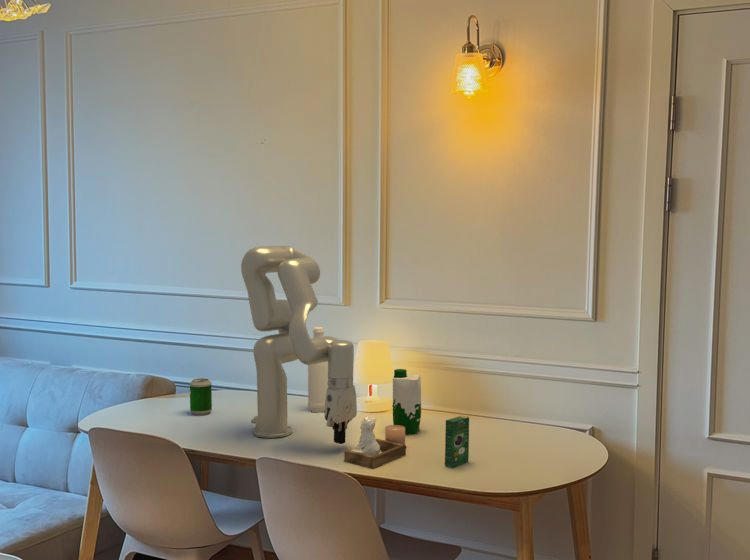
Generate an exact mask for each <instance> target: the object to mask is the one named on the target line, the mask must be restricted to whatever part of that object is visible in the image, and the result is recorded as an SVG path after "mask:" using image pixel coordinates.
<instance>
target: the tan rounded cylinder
mask: <svg viewBox="0 0 750 560" xmlns="http://www.w3.org/2000/svg"><path fill="white" fill-rule="evenodd" d="M384 440H386V441H390V442H395V443H399V444H404V445H406V434H405V427H404V426H401V425H393V424H389V425H386V426H385V427H384Z"/></svg>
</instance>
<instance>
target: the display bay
mask: <svg viewBox="0 0 750 560" xmlns="http://www.w3.org/2000/svg"><path fill="white" fill-rule="evenodd" d="M375 439H376V441H377V443H378V444H379V445H380V450H381V451H380V453H379V454H377V455H375V456H370V455H366V454H362V453H358V452H354V451H352V450H351V449H350V450H348V449H346V450H343V453H344V454H343V458H344V459H343V461H344V462H346V463H350V464H354V465H358V466H362V467H365V468H369V469H374V470H375V469H377V468H379V467H382V466H384V465H386V464H388V463H390V461H391V462H393V461H395V460H398V459H400V458H403V457H404V456H407V455H406V454H407V445H406V444H405V445H404V444H399V443H395V442H390V441H386V440H385V439H382V438H375ZM384 451H385V452H384ZM402 456H403V457H402ZM397 458H398V459H397ZM385 463H386V464H385ZM383 464H384V465H383Z"/></svg>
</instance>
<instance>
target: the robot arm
mask: <svg viewBox="0 0 750 560" xmlns="http://www.w3.org/2000/svg"><path fill="white" fill-rule="evenodd" d="M240 266H241V267H240V268H241V269H240V271H241V275H242V279H243V282H244V284H245V285H244V286H245V289H246V291H247V296H248V303H249V308H250V314H251V318H252V319H251V320H252V322H253V327H254V328H255V329H256V330H257V331H259V332H272V331H278V333H276V334H275V333H274V334H270V335H266V336H263V337H260V338H259V339H257V341H256V342H255V344H254V345H253V349H252V350H253V357H254V358H253V359H254V363H255V367H256V368H255V371H256V390H257V391H256V392H257V393H256V394H257V396H256V397H257V398H256V399H257V401H256V403H257V406H256V407H257V415H255V416H254V417H253V418H252V419H251V420H250V423H251V424H254V425H255V427H254V428H253V429H252V434H253V435H254V436H255V437H258V438H263V439H275V438H282V437H283V438H284V437H288V436H289V435H292V433H293V428H292V426H289V425H288V378H287V377H288V376H287V373H286V371H285V369H284V366H283V365H282V364H285V363H291V362H294V361H298V360H299V361H300V362H301V363H302V364H303V365H307V366H308V365H312V364H316V363H321V362H327V361H328V382H327V384H328V388H327V392H326V399H325V412H324V419H325V421H326V426H327V427H329V428H332V430H333V442H334V443H335V444H339V445H343V444H345V443H346V431H347V429H348V425H349V423H350V422H351V421H352V420H353V419H355V418H356V417H357V414H358V411H357V409H358V407H357V406H358V405H357V404H358V402H357V393H356V387H355V385H354V361H355V360H354V359H355V358H354V357H355V356H354V354H355V350H354V343H353V342H352V341H350V340H346V339H345V340H344V339H338V338H336V337H333V336H329V335H328V336H324V337H318V338H314V337H313V338H311V337H310V335H309V332H308V329H307V318H308V315H309V313H310V312H312V311H313V310H314V309H315V308H316V307H317V306H318V305H319V304H318V303H319V302H318V299H317V296H316V294H315V291H314V288H313V286H312V285H313V284H315V283H316V282H318V281H319V279H320V276H321V268H320V266H319V264H318V262H317V261H316V260H315V259H313V258H312V257H310V256H309V255H308V254H305V253H303V252H301V251H299V250H298V249H295V248H293V247H291V246H287V245H261V246H256V247H253V248H250V249H249V250H247V252H245V254H244V255H243V257H242V260H241V264H240ZM269 273H277V276H278V277H277V278H278V279H279V282H280V284H281V287H282V290H283V292H284V295H285V297H286V299H277V298H276V293H275V288H274V285H273V283H272V281H271V280H270V278H268V276H267V275H266V274H269Z"/></svg>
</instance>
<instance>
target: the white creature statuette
mask: <svg viewBox="0 0 750 560" xmlns="http://www.w3.org/2000/svg"><path fill="white" fill-rule="evenodd" d="M363 418H364V419H363V420H362V421H361V422H360V423H361V424H360V427H359V428H360V430H361V432H360V436H359V441H358V444H356V445H355V447H354V449H352V450H351V451H354V452H358V453H362V454H366V455H370V456H375V455H377V454H380V453H381V451H380V445H379V444H378V443H377V441H376V439H377V438H376V433H375V432H374V429H375V427H376V422H377V417H375V416H370V415H365V416H364V417H363Z"/></svg>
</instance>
